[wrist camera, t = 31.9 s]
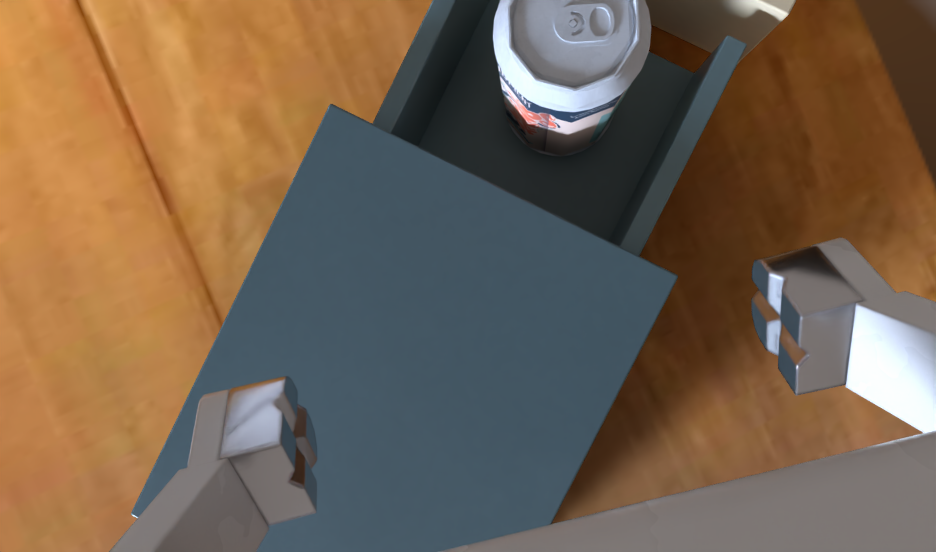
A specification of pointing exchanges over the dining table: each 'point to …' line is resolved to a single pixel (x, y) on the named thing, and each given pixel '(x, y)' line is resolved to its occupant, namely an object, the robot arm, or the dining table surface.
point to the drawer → (618, 150)
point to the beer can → (567, 67)
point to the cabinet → (426, 346)
